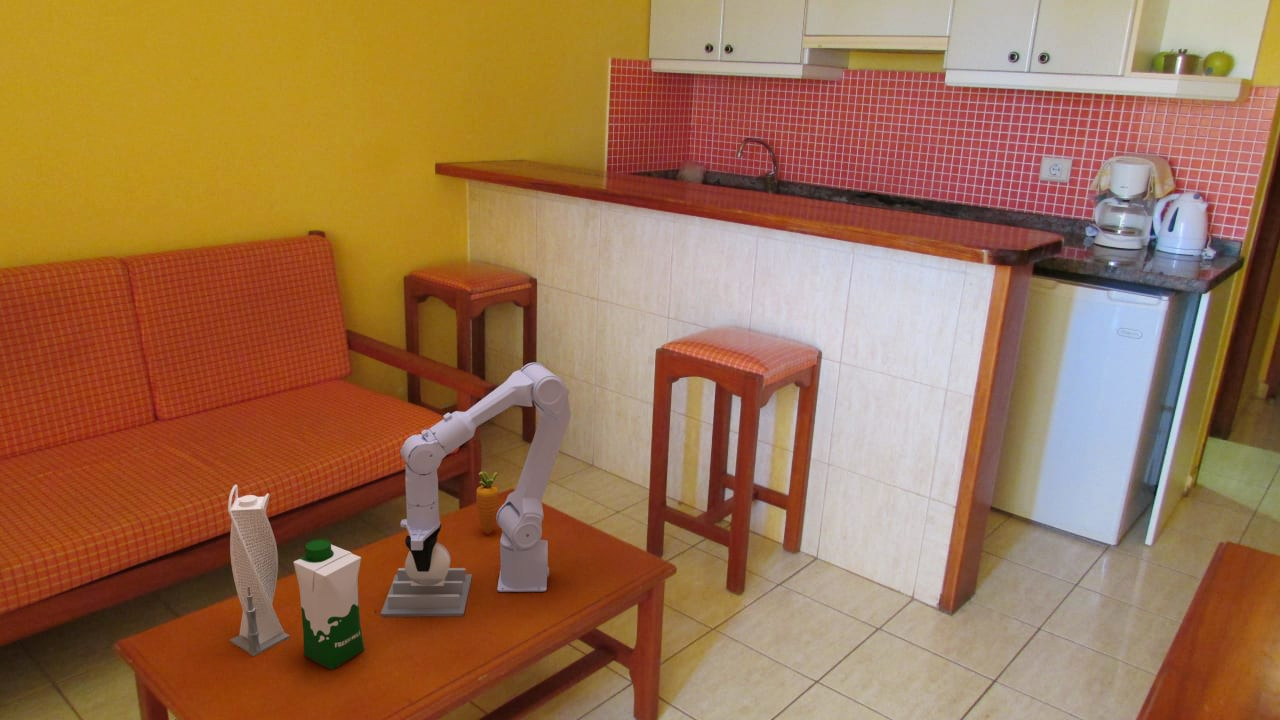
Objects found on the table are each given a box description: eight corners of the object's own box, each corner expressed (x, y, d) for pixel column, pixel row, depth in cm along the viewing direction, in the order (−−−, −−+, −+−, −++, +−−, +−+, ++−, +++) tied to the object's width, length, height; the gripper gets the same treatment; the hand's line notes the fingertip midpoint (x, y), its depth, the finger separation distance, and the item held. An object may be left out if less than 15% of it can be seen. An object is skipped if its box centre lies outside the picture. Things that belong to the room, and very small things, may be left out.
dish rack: (471, 576, 178) (471, 563, 178) (463, 616, 165) (463, 601, 164) (395, 577, 177) (394, 563, 176) (380, 616, 164) (379, 602, 163)
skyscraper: (224, 639, 156) (208, 492, 148) (266, 618, 162) (253, 476, 154) (253, 656, 151) (238, 506, 143) (295, 634, 158) (283, 489, 150)
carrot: (502, 529, 198) (501, 467, 194) (496, 540, 193) (495, 476, 189) (480, 528, 198) (479, 465, 194) (473, 538, 194) (472, 474, 189)
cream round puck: (450, 578, 169) (450, 540, 167) (449, 585, 167) (448, 547, 165) (407, 578, 169) (406, 540, 166) (405, 585, 166) (404, 547, 164)
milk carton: (337, 632, 159) (330, 530, 153) (372, 649, 154) (366, 545, 149) (295, 656, 152) (286, 551, 146) (331, 675, 147) (323, 567, 142)
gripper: (407, 483, 169) (409, 547, 173) (392, 517, 156) (395, 586, 159) (445, 483, 170) (446, 547, 174) (433, 518, 156) (435, 586, 160)
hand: (424, 566), depth 167 cm, fingers closed on cream round puck, 2 cm apart
